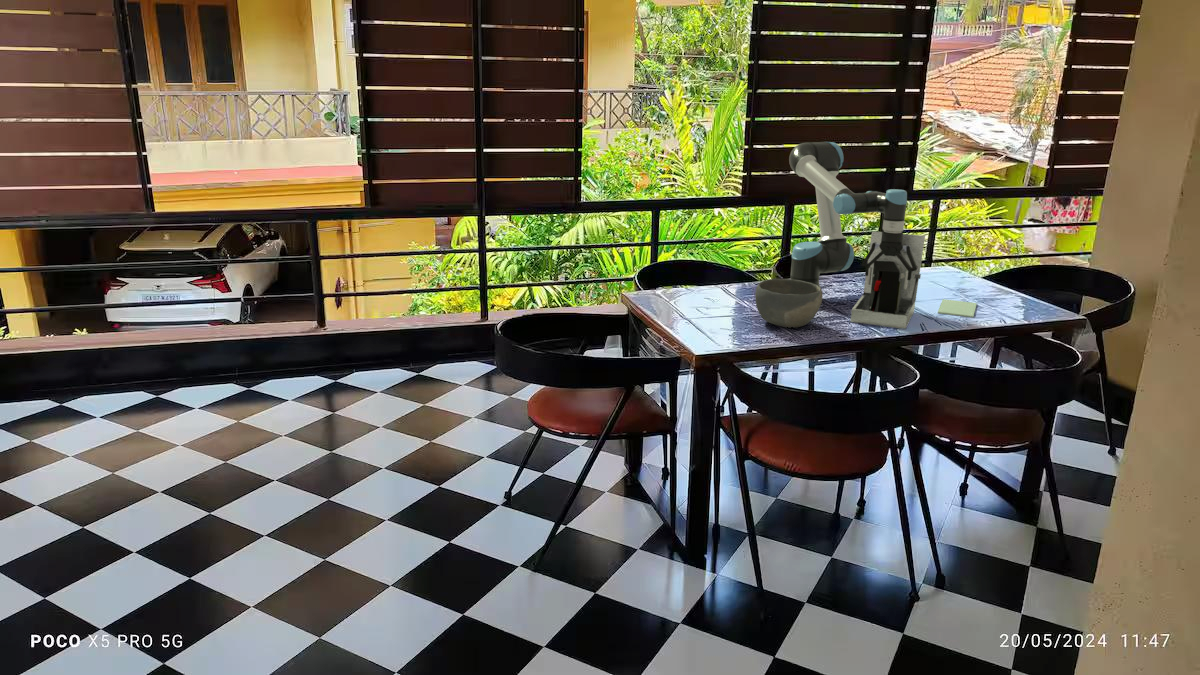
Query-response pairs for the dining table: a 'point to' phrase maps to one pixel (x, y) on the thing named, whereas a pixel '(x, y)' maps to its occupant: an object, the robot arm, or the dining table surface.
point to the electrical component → (886, 287)
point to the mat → (957, 308)
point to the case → (907, 295)
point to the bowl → (788, 301)
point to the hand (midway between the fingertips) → (886, 286)
